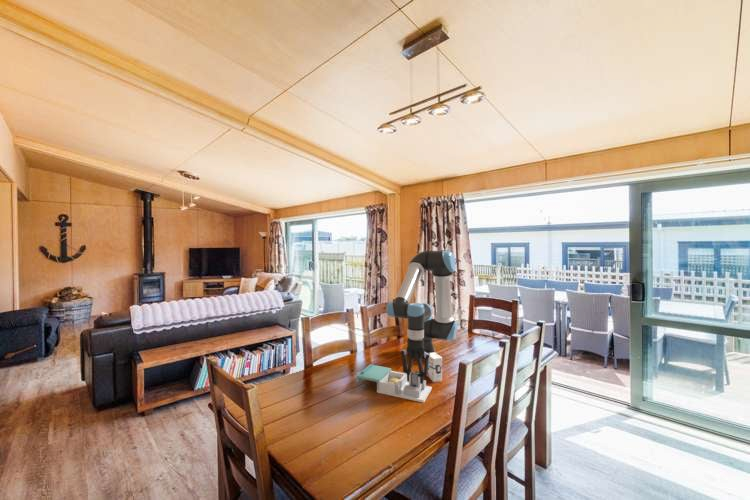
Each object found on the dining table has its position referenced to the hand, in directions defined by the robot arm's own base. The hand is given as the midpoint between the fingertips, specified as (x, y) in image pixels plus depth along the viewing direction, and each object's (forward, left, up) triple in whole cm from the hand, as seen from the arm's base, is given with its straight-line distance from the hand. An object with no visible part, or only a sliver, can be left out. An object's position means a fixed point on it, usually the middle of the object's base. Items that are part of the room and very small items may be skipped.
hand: (415, 389), depth 143 cm
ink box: (-19, +4, -2) cm, 20 cm away
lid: (0, -21, +1) cm, 21 cm away
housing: (0, -5, -2) cm, 5 cm away
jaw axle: (0, 0, -2) cm, 2 cm away
